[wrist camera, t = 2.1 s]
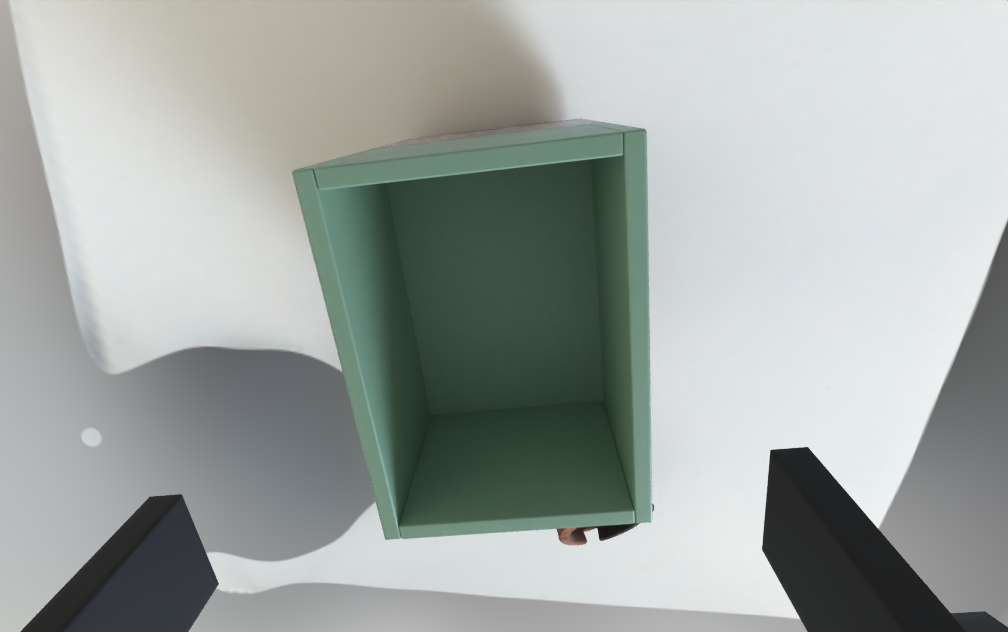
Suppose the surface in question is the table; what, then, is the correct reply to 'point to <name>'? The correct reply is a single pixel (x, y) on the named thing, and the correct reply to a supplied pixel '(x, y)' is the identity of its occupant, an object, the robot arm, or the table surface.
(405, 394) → the box
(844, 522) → the robot arm
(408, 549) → the table surface
